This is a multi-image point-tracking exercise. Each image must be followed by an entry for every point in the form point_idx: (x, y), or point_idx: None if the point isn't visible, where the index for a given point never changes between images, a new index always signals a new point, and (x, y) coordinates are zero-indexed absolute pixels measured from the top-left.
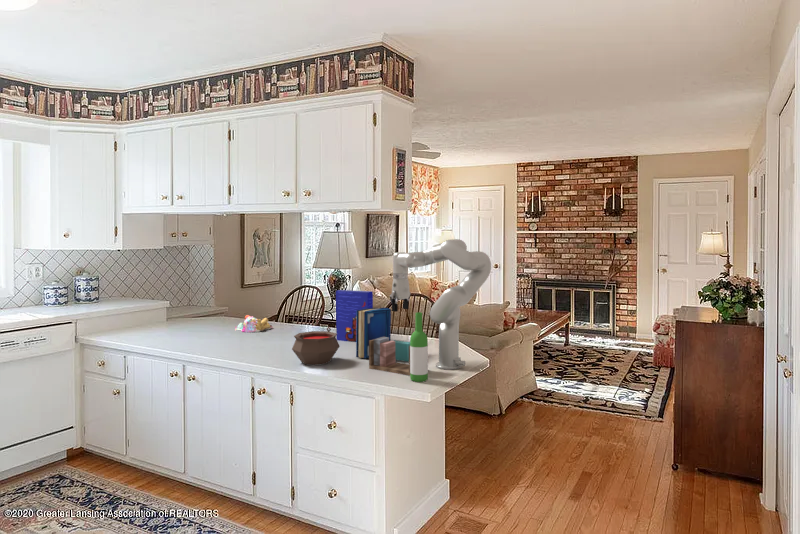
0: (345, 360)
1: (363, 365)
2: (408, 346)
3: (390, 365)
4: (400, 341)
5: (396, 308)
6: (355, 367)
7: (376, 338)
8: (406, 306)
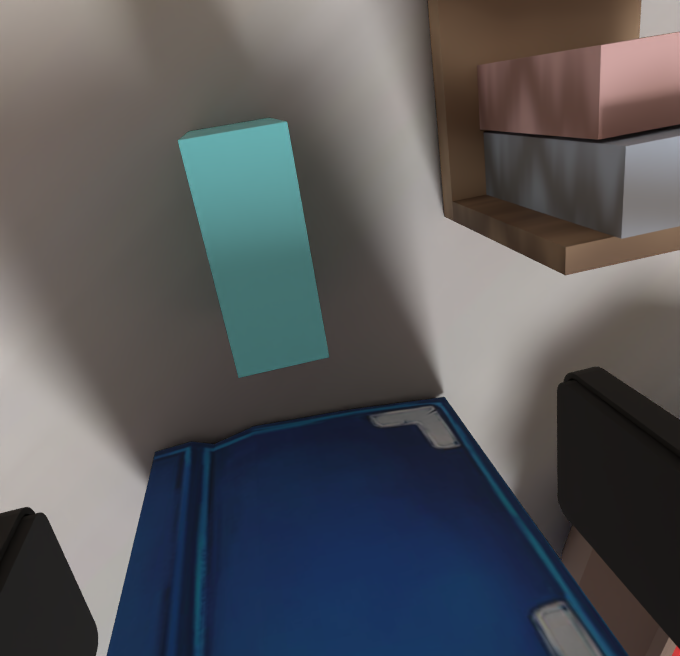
0: (529, 455)
1: (568, 278)
2: (261, 124)
3: (552, 48)
4: (240, 286)
5: (653, 419)
6: (635, 273)
7: (361, 497)
8: (28, 602)
